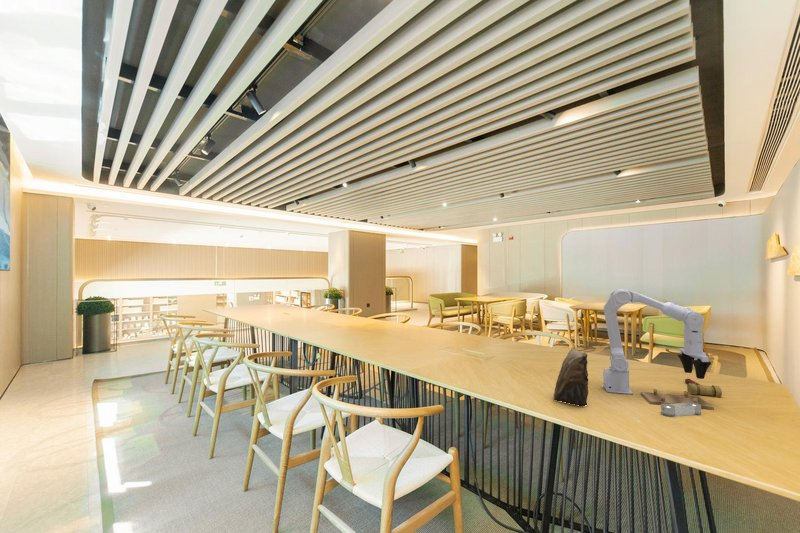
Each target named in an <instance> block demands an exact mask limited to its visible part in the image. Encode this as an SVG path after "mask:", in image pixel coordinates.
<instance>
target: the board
mask: <svg viewBox="0 0 800 533" xmlns="http://www.w3.org/2000/svg"><path fill="white" fill-rule="evenodd" d="M639 394H640V395H641V396H642V397H643V398H644V399H645V400H646V402H647V403H648V404H650V405H660V406H661V404H676V403H687V402H694V403H698V404H700V405H701V410H704V409H705V410H711V411H712V410H713V411H714V410H715V407H714V406H713V405H711V404H710V403H709V402H708V401H706V400H704V399H703V398H701V397H700V396H697V395H689V393H688V391H683V394H672V393H660V392H658V389H657V388H653V392H647V391H640V393H639Z"/></svg>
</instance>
